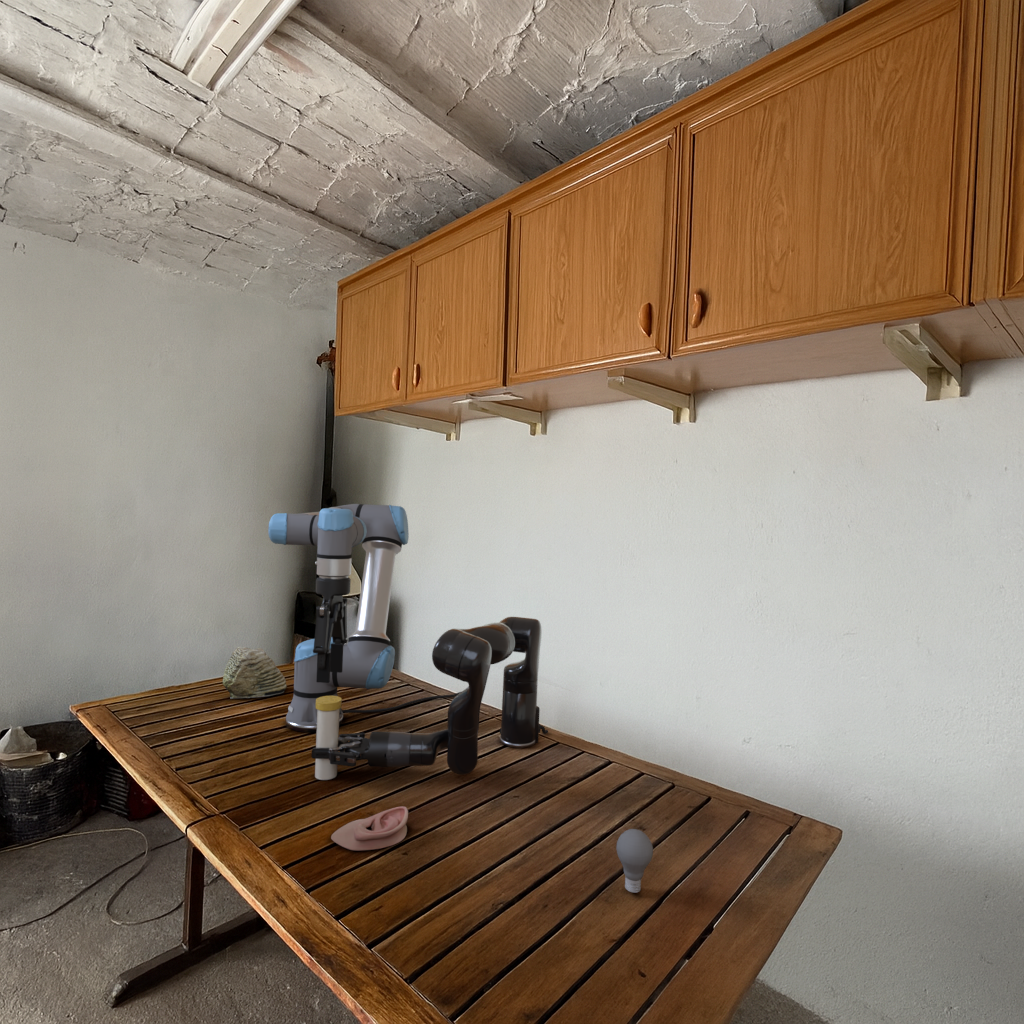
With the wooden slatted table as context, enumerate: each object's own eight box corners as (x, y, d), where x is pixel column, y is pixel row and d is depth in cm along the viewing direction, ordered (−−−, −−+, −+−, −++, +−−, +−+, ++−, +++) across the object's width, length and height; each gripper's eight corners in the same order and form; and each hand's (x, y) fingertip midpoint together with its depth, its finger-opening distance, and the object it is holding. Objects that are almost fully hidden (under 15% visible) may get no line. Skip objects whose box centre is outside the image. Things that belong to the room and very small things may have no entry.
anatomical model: (323, 824, 115) (352, 795, 126) (322, 845, 115) (351, 815, 126) (392, 835, 112) (415, 805, 123) (391, 857, 112) (414, 825, 123)
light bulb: (610, 879, 108) (613, 822, 108) (644, 879, 109) (647, 822, 109) (619, 902, 102) (622, 840, 102) (655, 901, 103) (658, 840, 103)
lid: (330, 701, 148) (330, 694, 148) (346, 706, 144) (347, 699, 144) (310, 707, 143) (310, 699, 143) (326, 712, 140) (326, 705, 140)
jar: (327, 769, 147) (330, 696, 147) (341, 774, 145) (344, 701, 144) (310, 775, 143) (313, 701, 143) (324, 782, 141) (327, 706, 140)
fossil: (218, 695, 195) (220, 647, 195) (278, 685, 208) (279, 640, 207) (228, 703, 189) (230, 653, 188) (289, 692, 201) (290, 645, 201)
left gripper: (333, 570, 154) (329, 664, 154) (299, 581, 133) (295, 689, 134) (363, 572, 153) (359, 666, 154) (334, 583, 133) (330, 691, 133)
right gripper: (394, 721, 152) (322, 720, 151) (387, 745, 138) (307, 744, 136) (393, 752, 152) (321, 752, 151) (386, 779, 138) (306, 778, 137)
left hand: (329, 676), depth 144 cm, fingers open, 8 cm apart
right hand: (315, 748), depth 144 cm, fingers closed on jar, 5 cm apart
